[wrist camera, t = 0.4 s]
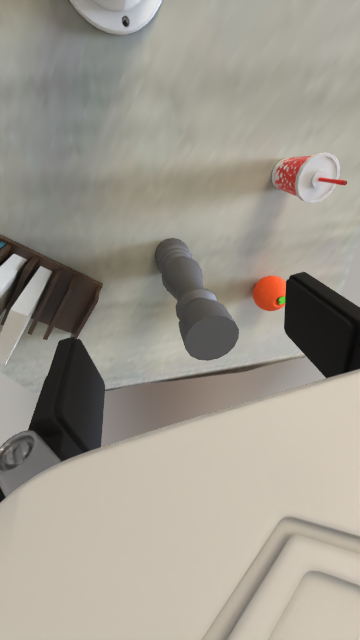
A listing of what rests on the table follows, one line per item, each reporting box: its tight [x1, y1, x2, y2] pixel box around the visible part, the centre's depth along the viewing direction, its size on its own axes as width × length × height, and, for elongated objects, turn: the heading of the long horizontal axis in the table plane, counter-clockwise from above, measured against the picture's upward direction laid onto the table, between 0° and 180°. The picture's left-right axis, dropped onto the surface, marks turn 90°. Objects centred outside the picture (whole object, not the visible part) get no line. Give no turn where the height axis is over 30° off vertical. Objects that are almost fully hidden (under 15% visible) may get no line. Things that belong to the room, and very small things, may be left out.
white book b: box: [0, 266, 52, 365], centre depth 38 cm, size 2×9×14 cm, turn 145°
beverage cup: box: [272, 152, 347, 203], centre depth 37 cm, size 6×6×14 cm
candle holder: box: [155, 238, 239, 360], centre depth 36 cm, size 6×6×25 cm
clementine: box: [253, 276, 286, 311], centre depth 51 cm, size 8×7×7 cm
